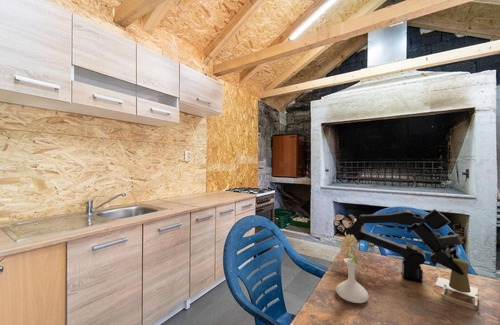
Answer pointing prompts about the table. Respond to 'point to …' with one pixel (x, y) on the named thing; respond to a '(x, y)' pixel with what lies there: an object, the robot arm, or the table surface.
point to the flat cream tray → (459, 300)
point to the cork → (460, 277)
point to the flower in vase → (351, 274)
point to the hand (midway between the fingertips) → (464, 272)
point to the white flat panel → (442, 282)
